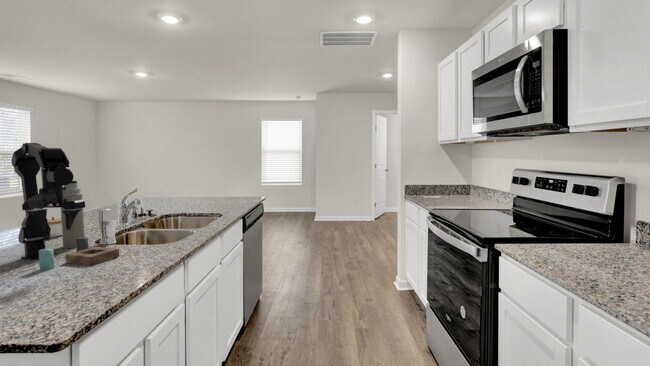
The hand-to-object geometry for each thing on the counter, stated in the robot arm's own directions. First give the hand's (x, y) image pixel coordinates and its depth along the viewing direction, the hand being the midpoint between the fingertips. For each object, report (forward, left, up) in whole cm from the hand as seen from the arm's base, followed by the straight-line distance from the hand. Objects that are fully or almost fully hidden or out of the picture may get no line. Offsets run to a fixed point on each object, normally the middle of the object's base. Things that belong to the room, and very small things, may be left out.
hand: (55, 229), depth 131 cm
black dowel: (-8, +17, -13) cm, 23 cm away
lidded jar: (-51, +39, -13) cm, 66 cm away
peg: (-2, -2, -13) cm, 13 cm away
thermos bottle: (-23, +26, -13) cm, 37 cm away
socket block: (+4, +11, -13) cm, 17 cm away
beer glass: (-13, +34, -13) cm, 39 cm away
